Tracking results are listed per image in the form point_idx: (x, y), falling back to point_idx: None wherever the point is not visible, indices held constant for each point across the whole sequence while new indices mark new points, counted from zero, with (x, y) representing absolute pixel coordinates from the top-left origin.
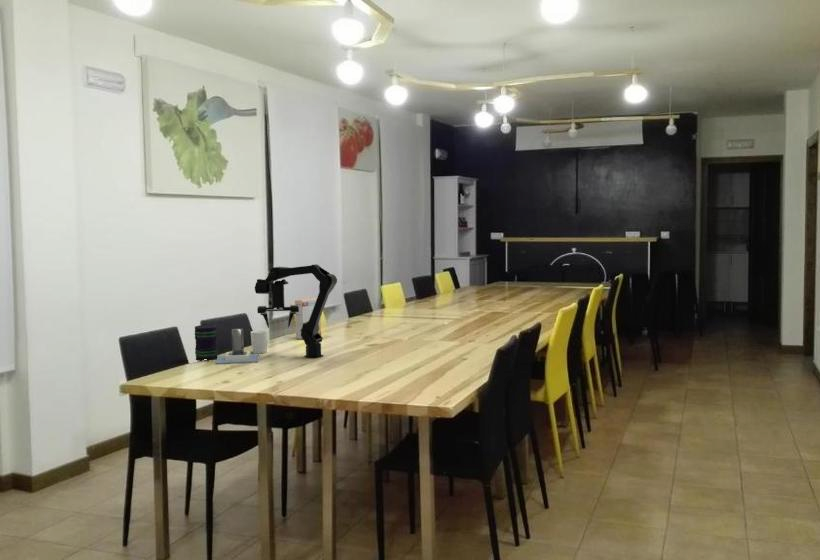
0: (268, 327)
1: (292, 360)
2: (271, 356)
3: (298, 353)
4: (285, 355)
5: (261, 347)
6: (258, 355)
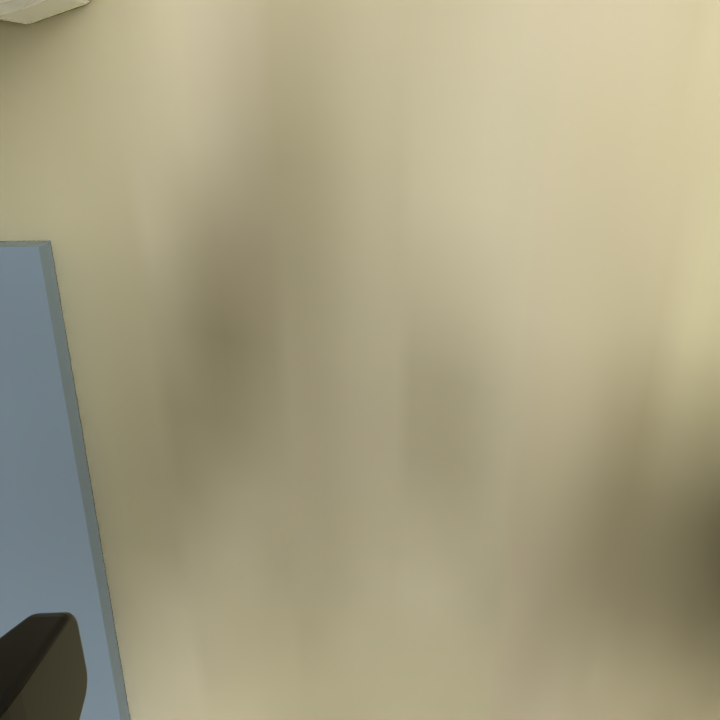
0: (62, 712)
1: (546, 675)
2: (271, 357)
3: (717, 173)
4: (488, 316)
5: (11, 11)
6: (63, 399)
